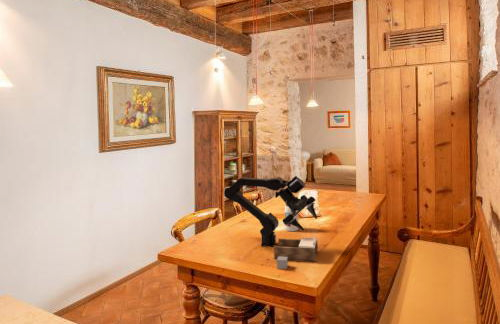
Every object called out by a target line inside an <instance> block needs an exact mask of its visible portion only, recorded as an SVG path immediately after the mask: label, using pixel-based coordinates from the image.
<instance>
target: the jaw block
mask: <svg viewBox="0 0 500 324" xmlns="http://www.w3.org/2000/svg"><path fill="white" fill-rule="evenodd" d="M288 266H289V260H288V257H280V256H279V257H278V259H276V269H279V270H287V269H288Z"/></svg>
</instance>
